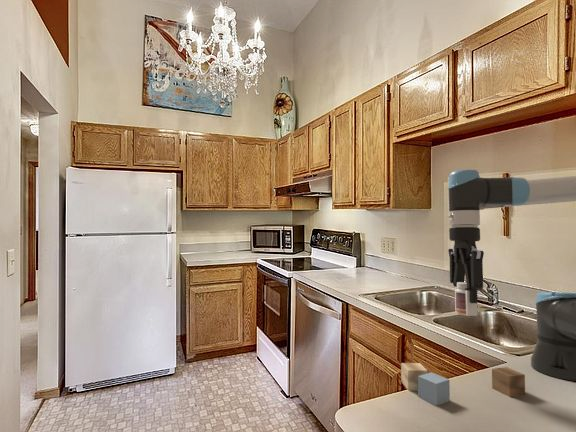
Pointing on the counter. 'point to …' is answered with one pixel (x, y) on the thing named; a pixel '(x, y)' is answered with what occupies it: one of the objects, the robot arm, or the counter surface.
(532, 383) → the counter surface
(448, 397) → the slate blue cube
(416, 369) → the maple cube
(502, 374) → the walnut cube
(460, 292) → the pill bottle
